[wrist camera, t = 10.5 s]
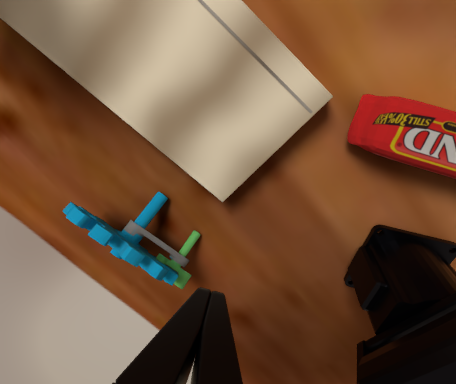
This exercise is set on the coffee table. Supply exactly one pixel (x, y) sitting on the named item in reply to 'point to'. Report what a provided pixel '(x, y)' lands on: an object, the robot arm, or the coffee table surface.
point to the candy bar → (406, 132)
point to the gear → (137, 241)
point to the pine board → (181, 76)
